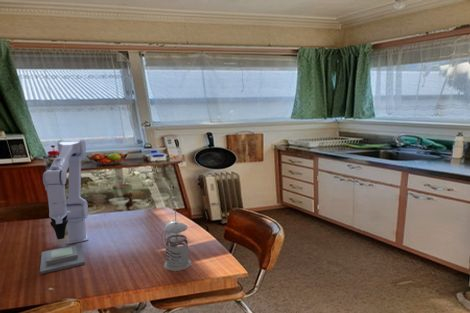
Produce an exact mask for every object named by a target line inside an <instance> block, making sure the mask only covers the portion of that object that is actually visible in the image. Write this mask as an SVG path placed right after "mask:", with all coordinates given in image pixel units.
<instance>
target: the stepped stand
mask: <svg viewBox="0 0 470 313" xmlns="http://www.w3.org/2000/svg"><path fill="white" fill-rule="evenodd" d="M40 256H41V257H40V265H39V266H40V267H39V275H43V274H48V273H52V272H57V271H62V270H64V269H65V270H66V269H70V268H73V267H78V266H83V265H86V264H85V263H86V262H85V257H84V252H83V247H82V243H79V244H75V245H71V246H65V247H60V248H54V249H49V250H45V251H41V255H40Z"/></svg>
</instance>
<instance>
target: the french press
mask: <svg viewBox="0 0 470 313" xmlns="http://www.w3.org/2000/svg"><path fill="white" fill-rule="evenodd" d="M171 200H172V201H173V202H176V201H178V197H176V196H174V197H171ZM176 209H177V208H176V207H174V216H175V218H174V221H177V214H176ZM187 229H188V225H186V224H185V223H183V222H179V223H172V224H169V225H168V226H166V225H165V227H164V230H163V231H162V233H161V235H160V236H161V239H163V234H164V235H167V234H168V233H166V232H169V233H176V235H172V236H168V237H164V240H165V244H164V242H163V240H161V242H162V245H163V247H164V248H165V251H166V255H165V256H166V261H165V263H164V264H163V267H164V268H165V269H166V270H168V271H172V272H173V271H176V272H177V271H182V270H186V269H188V268H189V267H191V265H192V261H191V260H190V259H189V242H188V239H187V236H186V235H184V234H179V235H177V233H179V232H180V233H183V232H185V231H187ZM176 243H177V244H176Z"/></svg>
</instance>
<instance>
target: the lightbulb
mask: <svg viewBox="0 0 470 313" xmlns="http://www.w3.org/2000/svg"><path fill="white" fill-rule="evenodd" d="M172 223H180V222H179V221H177V220H176V221H175V220H170V221H168V222H167V223H166V225H165V227H166V226H168V225H169V224H172ZM165 232H166V231H165ZM167 233H168V234H167ZM180 233H181V232H179V233H177V235H181V234H180ZM166 235H167V236H168V237H169V236H172V235H176V233H169V232H166ZM176 244H178V243H176Z"/></svg>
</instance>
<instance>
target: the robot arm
mask: <svg viewBox="0 0 470 313" xmlns="http://www.w3.org/2000/svg"><path fill="white" fill-rule="evenodd" d="M57 151H58V156H57V157H55V158H54V159H53V160H52V163H51V165H50V167H49V169H47V170H46V171H44V172H43V174H42V182H43V183H42V184H43V185H44V188H45V191H46V194H47V202H48V211H49V213H48V216H49V218H50V220H51V221H50V222H49V223H50V224H49V225H50V226H51V227H52V228H53V230H54V233H55V237H56V236H57V239H58V240H59V239H64V237H65V228H66V225H67V228H68V238H69V242H66V243H67V245H71V244H75V243H80V242H81V243H82V242H86V241H89V238H88V234H87V230H86V219H87V218H88V217H89V207H88V204H89V203H88V201H87V200H86V199H85V198H83V197H81V196H82V195H81V194H82V190H81V189H82V186H81V184H82V161H83V160H85V159H86V154H87V153H86V151H87V148H86V142H85V140H84V139H83V138H79V139H76V138H75V139H73V138H72V139H61V138H60V139H59V140H58V142H57ZM67 171H68V172H67ZM67 173H68V174H67ZM67 176H68V198H66V187H65V185H66V183H67Z"/></svg>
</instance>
